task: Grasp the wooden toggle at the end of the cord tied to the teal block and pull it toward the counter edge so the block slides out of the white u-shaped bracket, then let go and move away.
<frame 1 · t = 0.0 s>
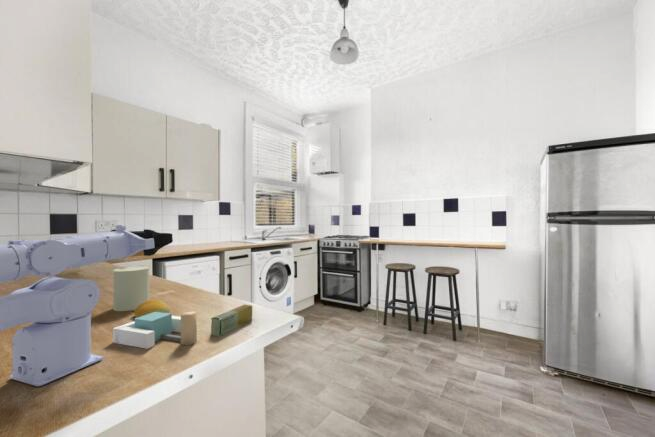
hand: (159, 237, 69), 22 cm above the counter, tool horizontal, fingers open, 7 cm apart
white u-shaped bracket: (153, 336, 64), on the counter
can: (131, 307, 87), on the counter
tethered block: (153, 336, 64), on the counter
bread roll: (151, 316, 79), on the counter
medication box: (233, 328, 69), on the counter
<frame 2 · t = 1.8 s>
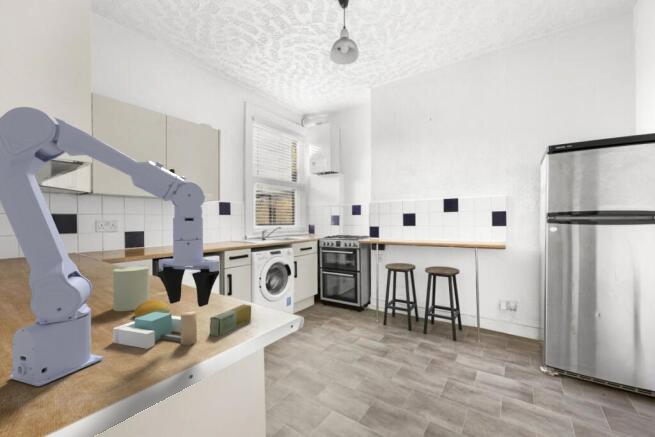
hand: (188, 303, 61), 8 cm above the counter, tool pointing down, fingers open, 7 cm apart
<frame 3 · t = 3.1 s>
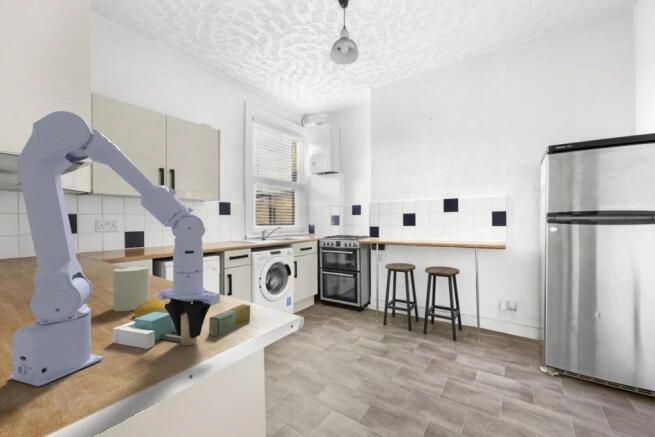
hand: (188, 335, 61), 1 cm above the counter, tool pointing down, fingers closed on tethered block, 3 cm apart
tethered block: (153, 336, 64), on the counter, touching gripper
everything else where it was.
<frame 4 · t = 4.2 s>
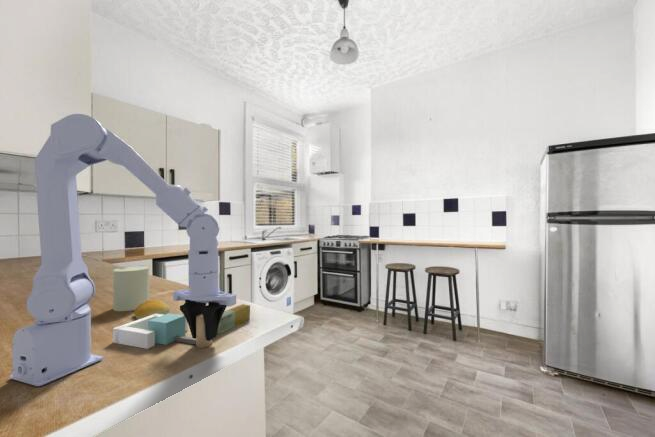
hand: (204, 337, 59), 1 cm above the counter, tool pointing down, fingers closed on tethered block, 3 cm apart
tethered block: (167, 338, 62), on the counter, touching gripper
everything else where it was.
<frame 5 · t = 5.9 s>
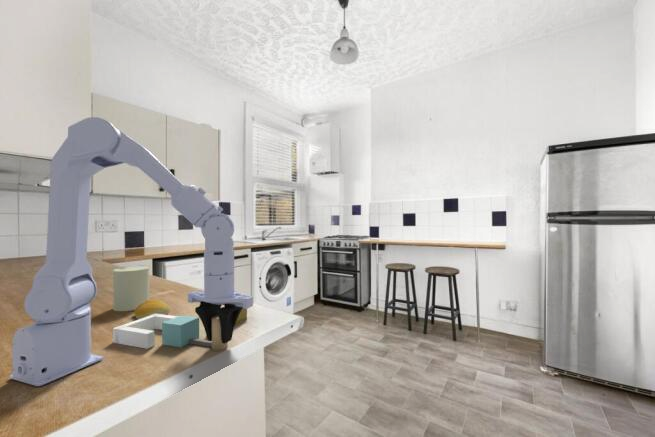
hand: (219, 340, 58), 1 cm above the counter, tool pointing down, fingers closed on tethered block, 3 cm apart
tethered block: (181, 341, 61), on the counter, touching gripper
when the fingers open (1 cm above the counter, at t = 6.0 s): tethered block stays where it is, on the counter.
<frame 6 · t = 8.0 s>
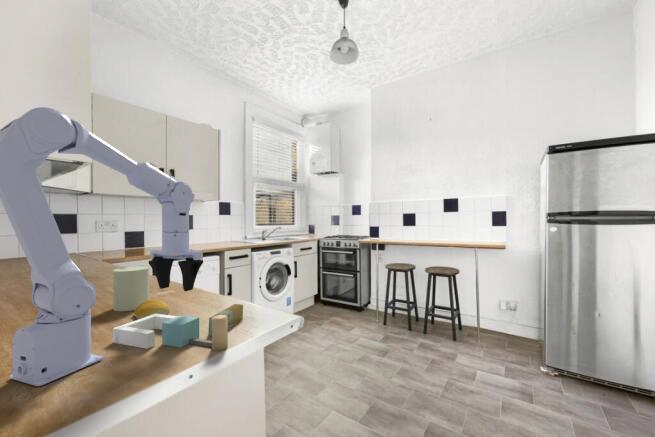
hand: (176, 289, 68), 9 cm above the counter, tool pointing down, fingers open, 7 cm apart
tethered block: (181, 341, 61), on the counter
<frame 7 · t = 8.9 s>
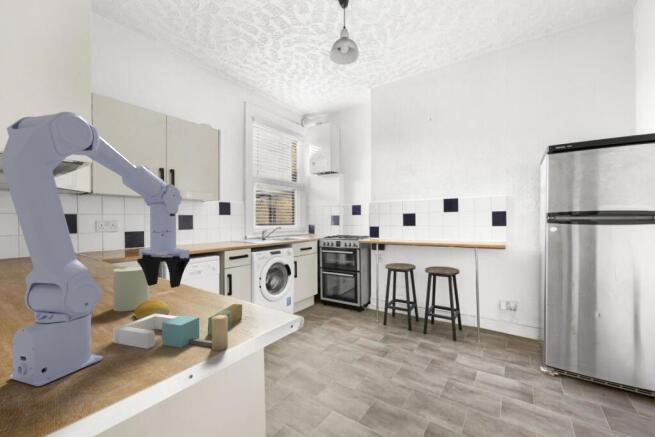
hand: (163, 285, 72), 9 cm above the counter, tool pointing down, fingers open, 7 cm apart
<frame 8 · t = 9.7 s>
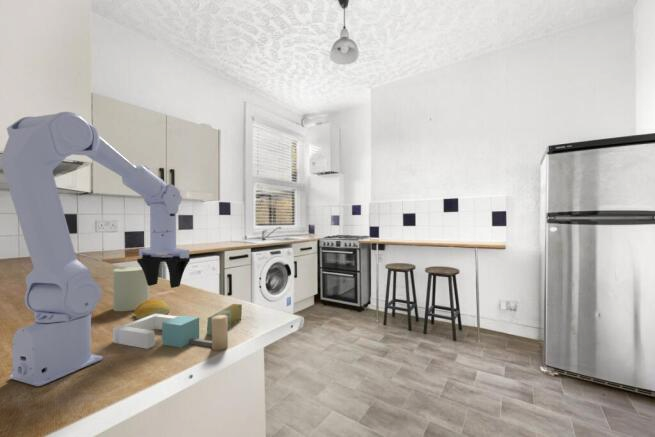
hand: (163, 285, 72), 9 cm above the counter, tool pointing down, fingers open, 7 cm apart
at the end: tethered block inside the target area (6.5 cm from its centre), on the counter; tethered block moved 8.0 cm from its start; the gripper is holding nothing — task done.
